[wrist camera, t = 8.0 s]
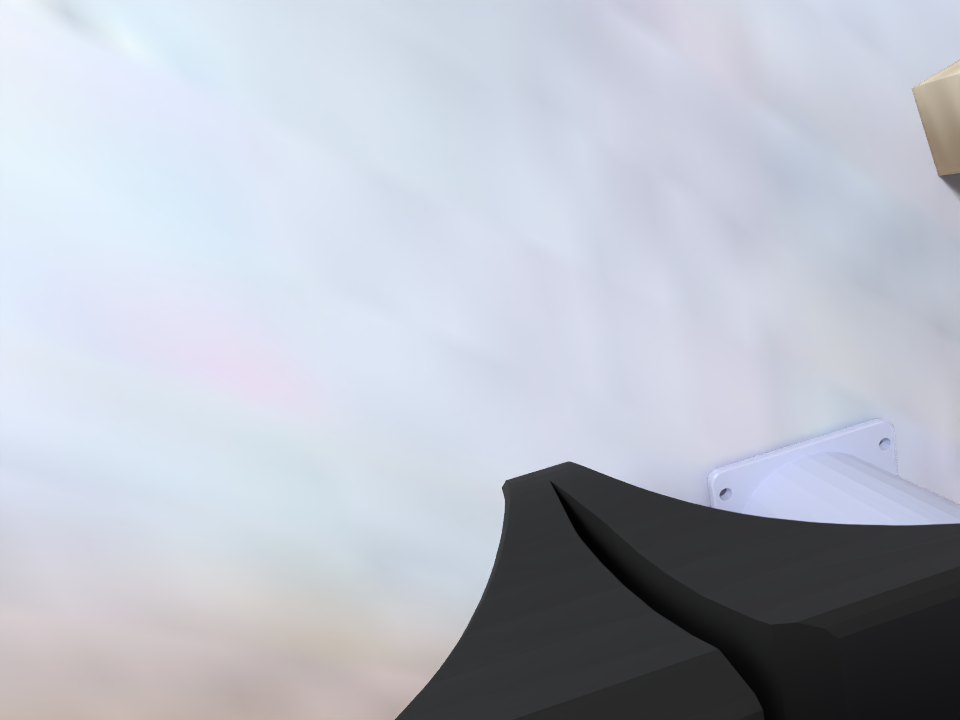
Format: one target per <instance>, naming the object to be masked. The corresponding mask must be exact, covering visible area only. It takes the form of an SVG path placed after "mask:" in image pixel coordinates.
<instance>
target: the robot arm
mask: <svg viewBox="0 0 960 720" xmlns="http://www.w3.org/2000/svg"><path fill="white" fill-rule="evenodd" d="M882 439H883V440H882ZM881 440H882V443H881V444H880V445H879V443H880V441H881ZM725 488H726V492H725V494H724V495H722V496H720V492H721V491H722V490H723V489H725ZM708 489H709V495H710V501H711V507H712V508H711V507H706V506H702V505H697V504H693V503H689V502H685V501H682V500H678V499H675V498H671V497H668V496H664V495H661V494H658V493H654V492H651V491H648V490H645V489H642V488H639V487H637V486H634V485H631V484H628V483H625V482H623V481H620V480H617V479H615V478H612V477H609V476H607V475H604V474H602V473H599V472H597V471H594V470H592V469H589V468H587V467H584V466H581V465H579V464H576V463H573V462H565V463H562V464H559V465H555V466H552V467H549V468H546V469H542V470H539V471H536V472H532V473H529V474H526V475H522V476H519V477H516V478H513V479H509V480H506V482H505V484H504V485H503V487H502V490H503V494H504V498H505V514H504V522H503V529H502V535H501V540H500V544H499V547H498V551H497V555H496V559H495V563H494V566H493V569H492V572H491V575H490V578H489V581H488V583H487V586H486V588H485V591H484V593H483V595H482V598H481V600H480V602H479V604H478V606H477V608H476V610H475V612H474V614H473V616H472V618H471V620H470V622H469V624H468V626H467V628H466V630H465V631H464V633H463V635H462V637H461V638H460V640H459V642H458V643H457V645H456V646H455V648H454V649H453V650H452V652H451V653H450V655H449V656H448V658H447V659H446V661H445V662H444V663H443V665H442V666H441V667H440V669H439V670H438V671H437V673H436V674H435V675H434V676H433V678H432V679H431V680H430V681H429V683H428V684H427V685H426V686H425V687H424V688H423V690H422V691H421V692H420V693H419V694H418V695H417V696H416V697H415V698H414V699H413V700H412V702H411V703H410V704H409V705H408V706H407V707H406V708H405V709H404V710H403V711H402V713H401V714H400V715H399V716H398V717H397V718H396V719H395V720H960V505H959V504H957V503H955V502H953V501H951V500H949V499H946V498H944V497H942V496H940V495H938V494H936V493H933V492H931V491H929V490H927V489H925V488H923V487H920V486H918V485H916V484H914V483H912V482H910V481H907V480H905V479H903V478H901V477H899V476H898V472H897V459H896V447H895V435H894V427H893V424H892V423H891V422H889V421H886V420H884V419H881V418H878V419H873V420H870V421H867V422H864V423H860V424H857V425H854V426H851V427H848V428H844V429H841V430H838V431H835V432H832V433H828V434H825V435H822V436H819V437H816V438H812V439H809V440H806V441H803V442H800V443H796V444H793V445H790V446H787V447H783V448H780V449H777V450H774V451H771V452H767V453H764V454H761V455H758V456H755V457H751V458H748V459H745V460H742V461H739V462H735V463H732V464H729V465H726V466H723V467H719V468H717V469H715V470H713V471H712V472H711V473H710V474H709V477H708Z"/></svg>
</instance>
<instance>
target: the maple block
mask: <svg viewBox="0 0 960 720" xmlns="http://www.w3.org/2000/svg"><path fill="white" fill-rule="evenodd" d="M912 91H913V94H914V98H915V101H916V104H917V107H918V111H919V114H920V117H921V120H922V124H923V127H924V130H925V133H926V137H927V140H928V143H929V146H930V150H931V153H932V156H933V159H934V163H935V166H936V169H937V172H938V175H939V176H941V175H949V174H957V173H960V60H959V61H957V62H955V63H953V64H952V65H950V66H948V67H946V68H945V69H943V70H941V71H940V72H938V73H936V74H934V75H933V76H931V77H929V78H928V79H926V80H924V81H922V82H921V83H919V84H917V85H916V86H914V87H912Z"/></svg>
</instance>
